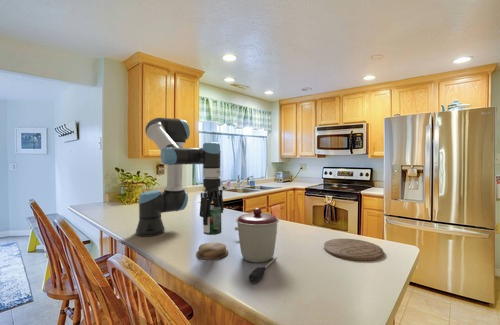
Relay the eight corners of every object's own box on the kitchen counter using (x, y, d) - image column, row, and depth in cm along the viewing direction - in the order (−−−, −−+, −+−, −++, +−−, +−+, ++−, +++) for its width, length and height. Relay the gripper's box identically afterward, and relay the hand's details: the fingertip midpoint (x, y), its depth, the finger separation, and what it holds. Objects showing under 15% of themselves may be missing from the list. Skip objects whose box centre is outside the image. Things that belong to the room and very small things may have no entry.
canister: (281, 252, 119) (281, 205, 118) (276, 268, 101) (276, 213, 100) (241, 249, 122) (241, 203, 122) (230, 265, 105) (230, 211, 104)
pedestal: (189, 256, 114) (189, 249, 114) (208, 246, 126) (208, 240, 126) (217, 262, 108) (217, 254, 107) (234, 251, 120) (234, 244, 120)
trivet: (313, 246, 127) (313, 242, 127) (353, 239, 137) (353, 236, 137) (350, 266, 104) (350, 261, 104) (396, 256, 113) (396, 252, 113)
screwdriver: (272, 257, 113) (272, 248, 113) (280, 259, 111) (280, 250, 111) (246, 284, 89) (247, 273, 89) (257, 287, 87) (257, 275, 87)
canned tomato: (224, 230, 119) (224, 206, 119) (216, 235, 112) (216, 209, 111) (208, 229, 122) (208, 205, 121) (199, 234, 114) (199, 208, 114)
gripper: (205, 180, 105) (205, 237, 106) (231, 176, 124) (231, 225, 124) (189, 179, 109) (190, 235, 109) (217, 176, 127) (218, 223, 127)
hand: (212, 229), depth 117 cm, fingers closed on canned tomato, 8 cm apart
